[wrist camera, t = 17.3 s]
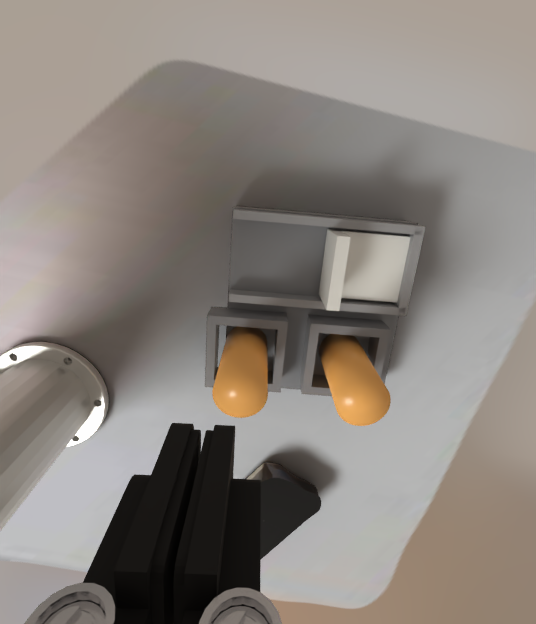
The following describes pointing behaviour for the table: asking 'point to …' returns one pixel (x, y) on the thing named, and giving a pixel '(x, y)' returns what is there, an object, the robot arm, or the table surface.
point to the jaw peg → (353, 380)
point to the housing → (293, 307)
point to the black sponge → (282, 504)
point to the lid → (362, 267)
